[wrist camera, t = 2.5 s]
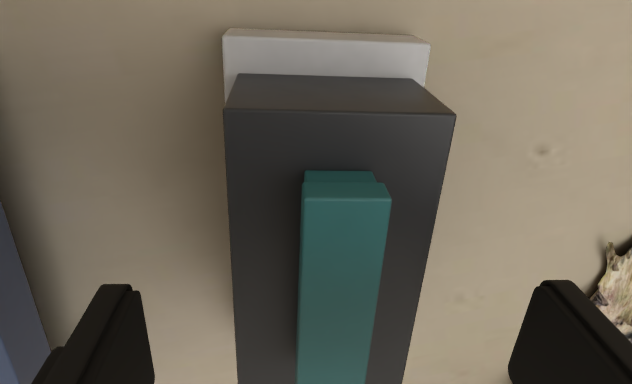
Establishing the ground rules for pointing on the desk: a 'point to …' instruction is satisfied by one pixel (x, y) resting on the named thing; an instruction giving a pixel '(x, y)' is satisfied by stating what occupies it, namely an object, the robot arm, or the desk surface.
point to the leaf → (616, 291)
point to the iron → (329, 200)
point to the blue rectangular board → (18, 317)
